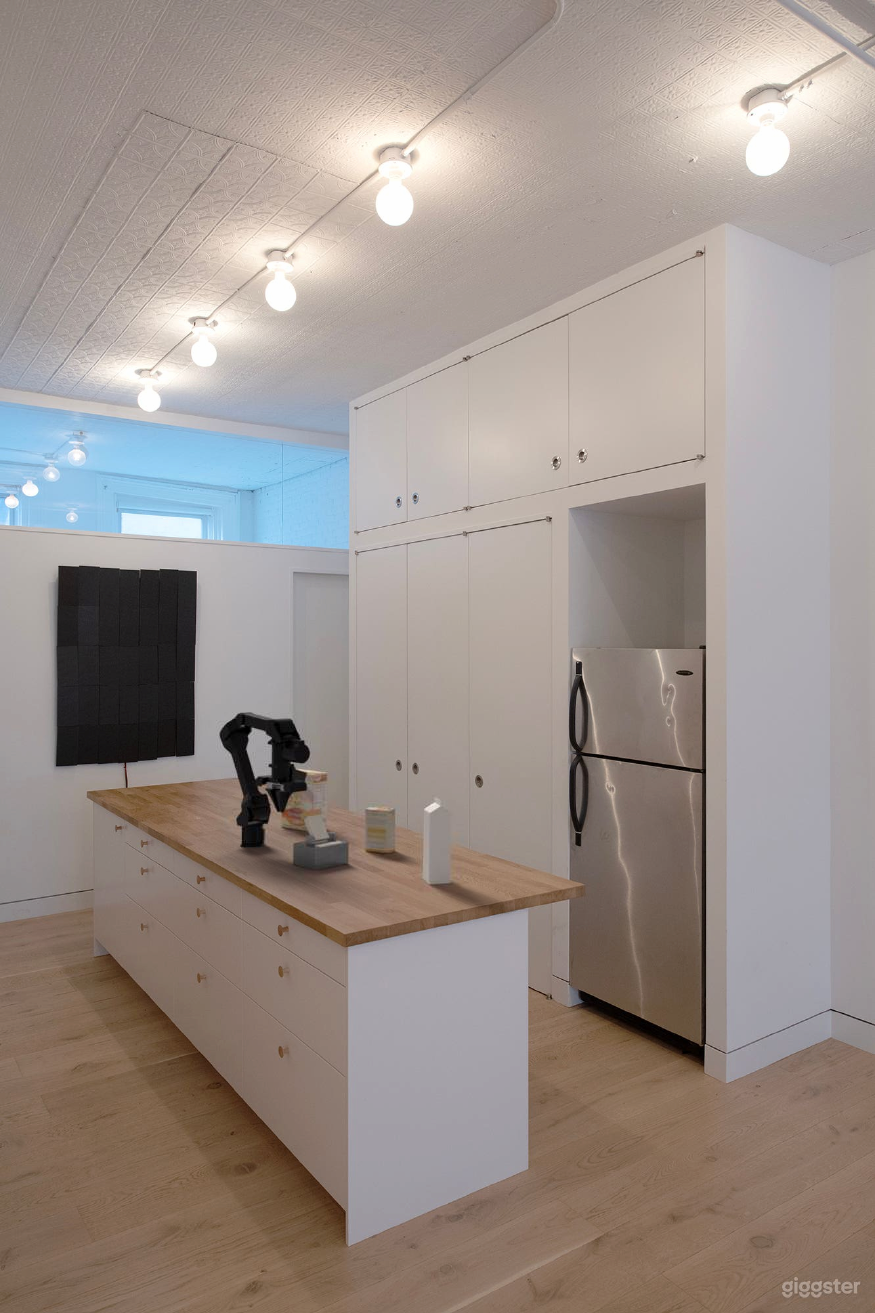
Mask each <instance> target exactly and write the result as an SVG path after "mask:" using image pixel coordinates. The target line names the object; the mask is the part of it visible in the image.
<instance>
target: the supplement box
mask: <svg viewBox="0 0 875 1313" xmlns="http://www.w3.org/2000/svg"><path fill="white" fill-rule="evenodd" d="M364 810H365V811H364V813H365V817H364V818H365V819H364V820H365V828H364V830H365V833H364V834H365V835H364V837H365V839H364V841H365V846H364V848H365V849H364V851H365V852H371V853H379V854H381V853H382V854H391V853H393V852H395V851H396V808H393V807H385V806H383V807H382V806H370V807H367V808H365V809H364Z"/></svg>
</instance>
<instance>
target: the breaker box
mask: <svg viewBox="0 0 875 1313" xmlns="http://www.w3.org/2000/svg"><path fill="white" fill-rule="evenodd" d="M327 832H328V835H329V838H328V839H327V840H324V841H319V842H315V837H313V836H310V834H309V835H306V836H305V840H303V841H299V842H293V847H292V849H293V851H292V852H293V854H292V855H293V856H292V860H293V861H292V864H293V865H294V864H296V865H295V866H297V865H298V866H299V867H301V866H302V868H304V867H305V868H306V869H308V868H309V869H308V870H311V869H312V871H314V870H316V871H320V870H324V868H325V869H330V868H334V867H333V866H335V867H338V866H344V865H348V864H349V848H350V847H349V846H350V845H349V844H350V842H348V841H344V840H340V839H337V833H336V832H333V831H327ZM343 864H344V865H343ZM298 866H297V867H298ZM305 868H304V869H305Z"/></svg>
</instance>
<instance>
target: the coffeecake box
mask: <svg viewBox="0 0 875 1313" xmlns="http://www.w3.org/2000/svg"><path fill="white" fill-rule="evenodd" d="M296 769H297V770H300V771H303V772H306V773H307V776H306V779H305V782H306V783H307V791H300V792H293V793H292V794H291V795H290V797H289V800H288V802H287V805H286V808H285V811H284V813H281V826H280V827H282V828H287V829H293V830H300V831H304V830H305V831H304V832H308V829H307V826H306V824H305V821H304V819H303V820H301V817H300V815H301V814H302V813H303V812H304V811H311V810H317V809H321V811H322V814H321V817H322V820H323V822H324V825H325V827H326V828H327V822H328V821H327V820H328V819H327V817H328V816H327V815H328V814H327V812H328V810H327V809H328V807H327V805H328V804H327V803H328V796H327V795H328V772H327V771H325V772H323V771H317V770H311V769H310V770H309V769H301V768H296Z"/></svg>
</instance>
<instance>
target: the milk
mask: <svg viewBox="0 0 875 1313" xmlns="http://www.w3.org/2000/svg"><path fill="white" fill-rule="evenodd" d="M422 845H423V848H422V849H423V850H422V851H423V852H422V853H423V856H422V858H423V861H422V862H423V863H422V864H423V865H422V880H424V881H425V882H426V883H427V885H443V884H446V885H447V884H451V882H452V881H451V880H452V879H451V874H452V872H451V871H452V868H451V867H452V863H451V862H452V811H451V810H449V809H447V808H445V807H444V806H442V800H441V799H439V798H437V797H436V796H435V797H434V802H433V803H431V804H430V805H428V806H426V807H425V808H423V844H422Z"/></svg>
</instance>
